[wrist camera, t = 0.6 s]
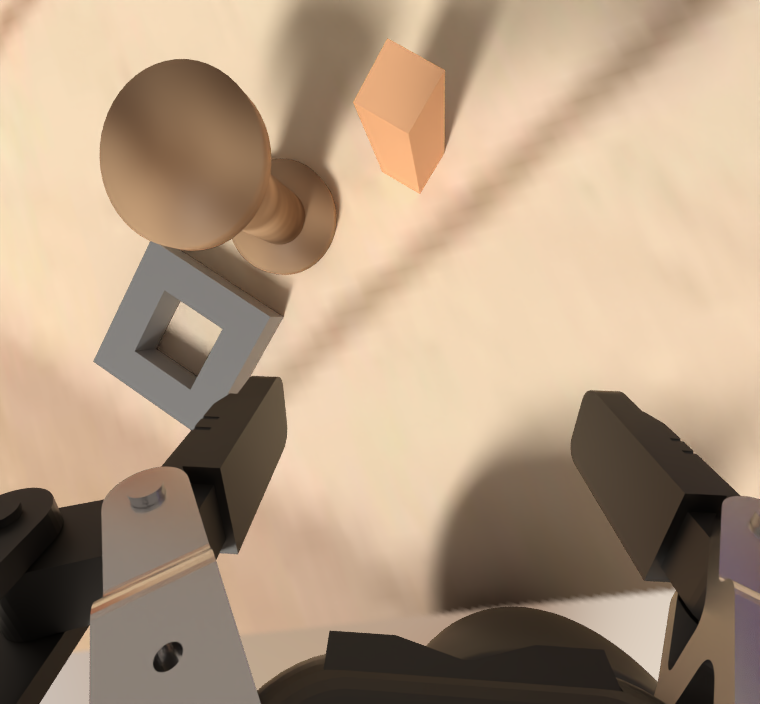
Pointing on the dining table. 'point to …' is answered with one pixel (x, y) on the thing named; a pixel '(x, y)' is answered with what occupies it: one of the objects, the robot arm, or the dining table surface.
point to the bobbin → (210, 171)
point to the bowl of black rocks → (532, 639)
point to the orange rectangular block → (404, 114)
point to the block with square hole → (151, 317)
